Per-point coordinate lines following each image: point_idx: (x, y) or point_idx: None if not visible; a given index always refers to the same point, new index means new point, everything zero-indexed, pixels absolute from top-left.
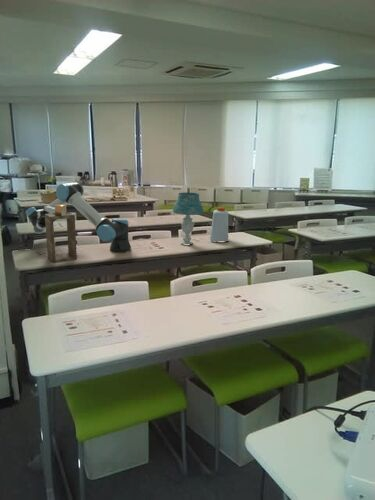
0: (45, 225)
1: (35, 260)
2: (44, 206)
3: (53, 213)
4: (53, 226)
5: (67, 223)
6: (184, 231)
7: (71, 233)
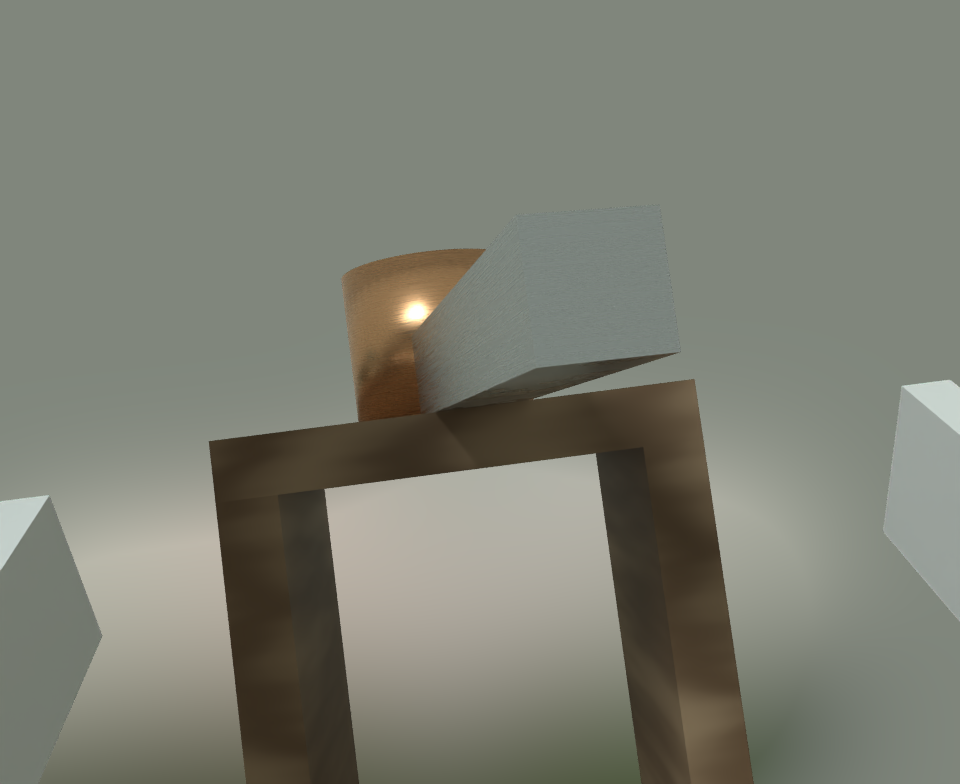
0: (727, 608)
1: None
2: (656, 213)
3: (530, 400)
4: (609, 547)
5: (303, 652)
6: None
7: (347, 751)
